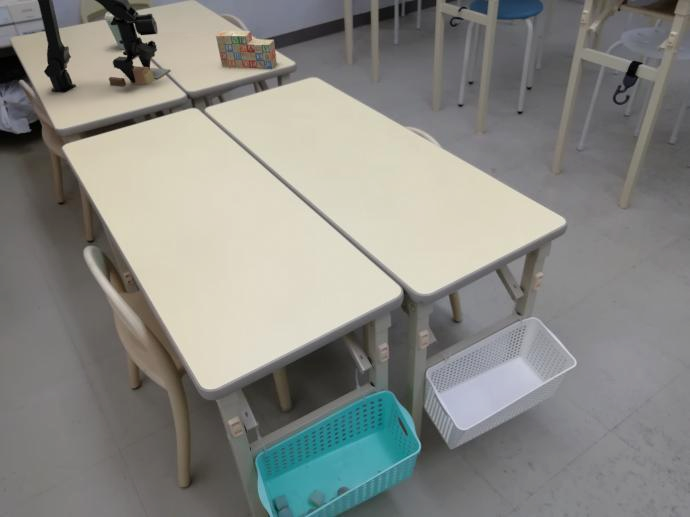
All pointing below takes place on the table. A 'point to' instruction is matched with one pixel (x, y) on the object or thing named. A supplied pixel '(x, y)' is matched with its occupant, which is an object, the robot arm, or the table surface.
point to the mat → (159, 72)
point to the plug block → (143, 75)
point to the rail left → (117, 81)
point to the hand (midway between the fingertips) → (141, 78)
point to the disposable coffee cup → (113, 29)
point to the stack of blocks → (245, 50)
